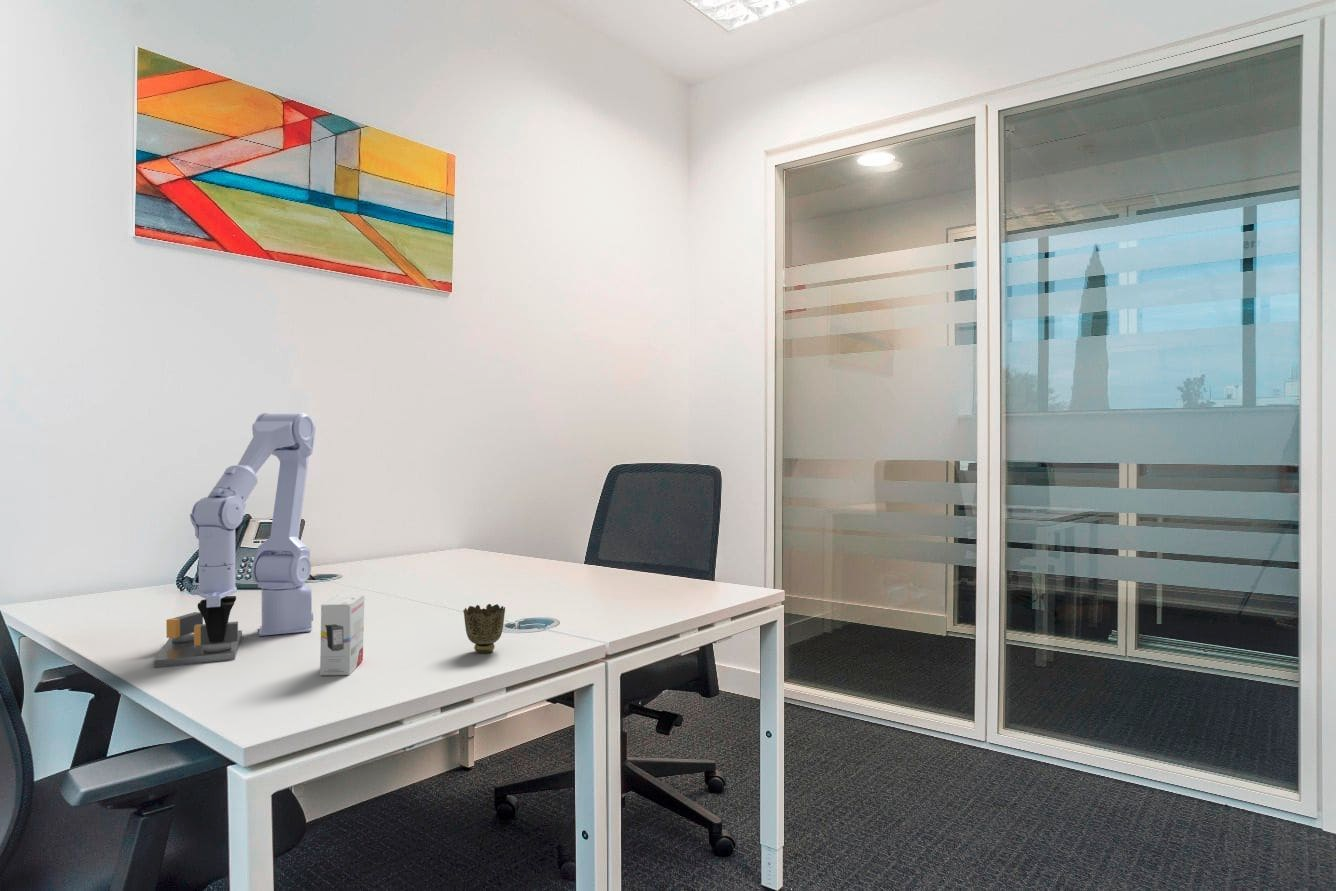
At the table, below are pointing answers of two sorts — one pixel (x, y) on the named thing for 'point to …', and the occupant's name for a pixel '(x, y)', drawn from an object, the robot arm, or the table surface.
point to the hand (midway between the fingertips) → (217, 640)
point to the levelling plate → (192, 653)
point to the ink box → (342, 634)
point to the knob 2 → (203, 639)
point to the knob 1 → (183, 627)
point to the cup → (484, 626)
